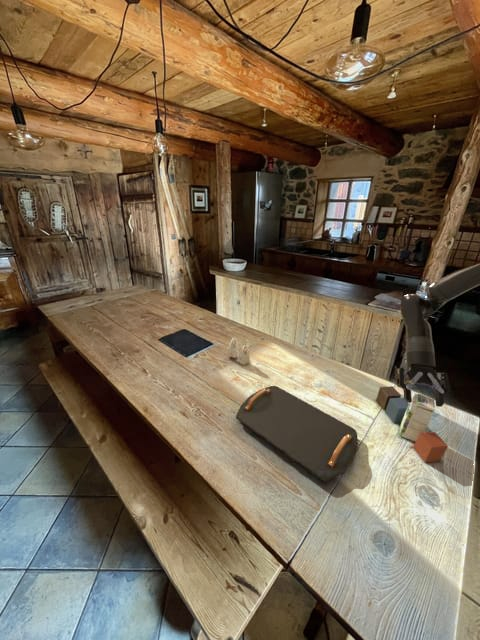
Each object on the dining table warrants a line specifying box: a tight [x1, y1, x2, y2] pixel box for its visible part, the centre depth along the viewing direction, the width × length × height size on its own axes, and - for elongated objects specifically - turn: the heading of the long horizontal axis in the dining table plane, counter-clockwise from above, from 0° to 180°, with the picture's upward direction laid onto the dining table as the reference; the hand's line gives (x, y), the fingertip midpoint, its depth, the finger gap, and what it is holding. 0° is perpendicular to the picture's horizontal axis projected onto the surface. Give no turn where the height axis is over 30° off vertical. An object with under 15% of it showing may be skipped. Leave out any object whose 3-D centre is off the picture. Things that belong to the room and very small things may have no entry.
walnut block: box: [375, 385, 402, 411], centre depth 98 cm, size 5×5×6 cm
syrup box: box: [399, 392, 436, 443], centre depth 85 cm, size 6×6×14 cm
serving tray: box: [235, 385, 359, 483], centre depth 87 cm, size 39×23×6 cm, turn 48°
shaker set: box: [225, 337, 251, 365], centre depth 122 cm, size 12×4×11 cm, turn 52°
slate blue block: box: [384, 397, 409, 424], centre depth 93 cm, size 5×5×6 cm
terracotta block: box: [413, 431, 449, 463], centre depth 80 cm, size 5×5×6 cm
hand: (424, 404), depth 81 cm, fingers open, 8 cm apart
